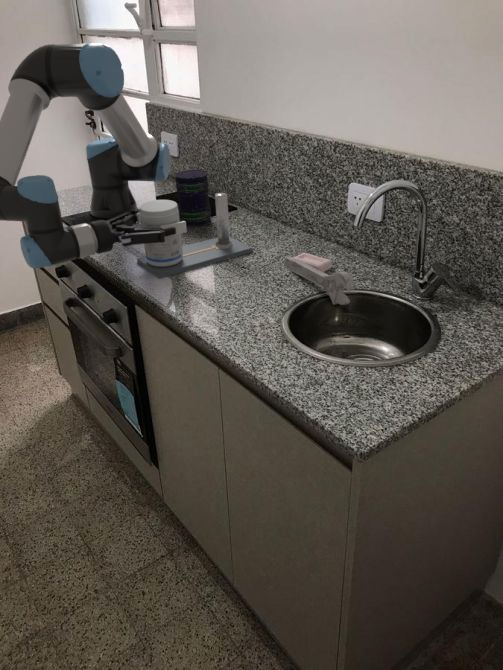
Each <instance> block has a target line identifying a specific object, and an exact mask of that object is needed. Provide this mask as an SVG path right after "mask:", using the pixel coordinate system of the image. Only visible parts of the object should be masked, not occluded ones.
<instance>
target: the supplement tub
mask: <svg viewBox="0 0 503 670" xmlns="http://www.w3.org/2000/svg"><path fill="white" fill-rule="evenodd" d="M139 213H140V218H141V224H140V225H141V228H160V226H164V225H169V224H173V223H177V222H180V221H181V220H180V216H179V205H178V203H177V202H176V201H174V200H170V199H154V200H149V201H146V202H143V203H142V204H140V205H139ZM143 246H144V252H145V253H144V254H145V256H146V260H147V262H148V263H149V264H151V265H153V266H158V267H166V266H172V265H175V264H177V263H179V262H180V261H181V260H182V258H183V250H182V246H183V242H182V234H178V235H174V236H170V237H166V238H165V242H163V243H161V242H160V243H148V244H143Z"/></svg>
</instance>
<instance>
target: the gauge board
mask: <svg viewBox="0 0 503 670" xmlns="http://www.w3.org/2000/svg"><path fill="white" fill-rule="evenodd" d="M229 239H230V241H231V242H232V246H230V247H227V248H220V247H217V246H216V244H215V243H216V242H218V236H217V237H214V238H210V239H207V240H202V241H198V242H195V243H190V244H186V245H182V250H183V258H182V260H181V261H180V262H179V263H177V264H175V265H172V266H166V267H158V266H153V265H151V264H149V263H148V262H147V260H146V255H144V256H141V257H137V258H136V260H137V261H136V262H137V264H139V265H140V266H142V267H143V268H145V269H146V270H147V271H149V272H150V273H152V274H153V275H154V276H156V277H157V278H159V279H163V278H165V277H169V276H174V275H177V274H179V273H180V274H181V273H184V272H187V271H191V270H193V269H197V268H200V267H204V266H208V265H211V264H214V263H218V262H222V261H225V260H226V261H227V260H229V259H232V258H237V257H240V256H242V255H246V254H249V253H253V247H252V246H250V245H248V244H245V243H243V242H242V241H239V240H238V239H236V238H234V237H231V236H230V235H229Z"/></svg>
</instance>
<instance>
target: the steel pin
mask: <svg viewBox="0 0 503 670" xmlns="http://www.w3.org/2000/svg"><path fill="white" fill-rule="evenodd" d="M214 200H215V201H214V202H215V203H214V204H215V217H216V233H217V234H216V235H217V237H218V242H216V243H215V244H216V246H217V247H220V248H227V247H230V246H232V242H231V241H230V239H229V236H230V223H229V207H228V206H229V202H228V201H229V200H228V194H227V193H226V192H218V193H215V194H214Z"/></svg>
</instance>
